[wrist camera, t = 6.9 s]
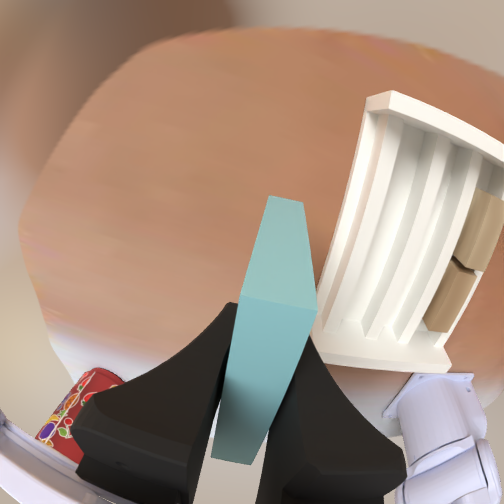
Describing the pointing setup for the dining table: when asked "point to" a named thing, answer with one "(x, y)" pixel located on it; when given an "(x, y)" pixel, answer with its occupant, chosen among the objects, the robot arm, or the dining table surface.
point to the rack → (400, 234)
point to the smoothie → (74, 413)
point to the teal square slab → (267, 331)
